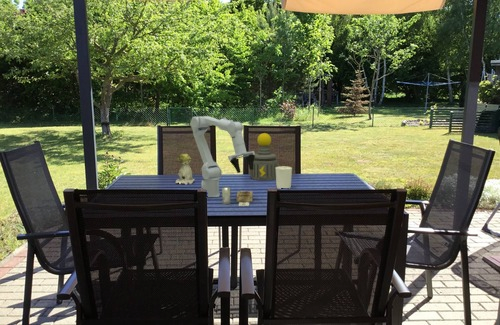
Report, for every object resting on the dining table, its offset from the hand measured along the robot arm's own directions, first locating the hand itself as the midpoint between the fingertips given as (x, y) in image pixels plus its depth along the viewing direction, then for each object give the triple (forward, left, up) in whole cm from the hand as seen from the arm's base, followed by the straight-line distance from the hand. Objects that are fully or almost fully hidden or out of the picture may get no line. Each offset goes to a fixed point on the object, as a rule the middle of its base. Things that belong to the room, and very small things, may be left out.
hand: (245, 171), depth 209 cm
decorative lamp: (+10, +65, -16) cm, 68 cm away
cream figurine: (-41, +52, -16) cm, 68 cm away
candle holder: (+21, +35, -16) cm, 44 cm away
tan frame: (-1, +8, -16) cm, 18 cm away
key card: (-1, -4, -16) cm, 17 cm away
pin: (-10, -2, -16) cm, 19 cm away
